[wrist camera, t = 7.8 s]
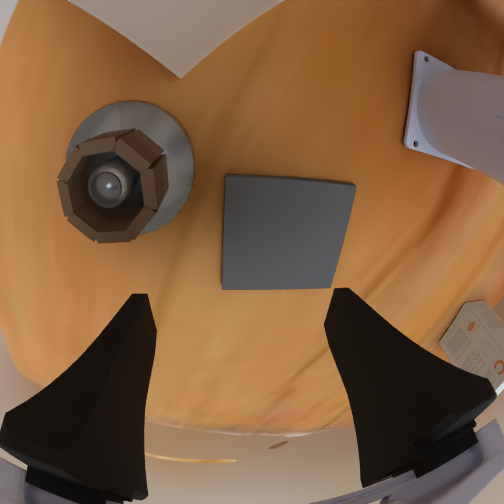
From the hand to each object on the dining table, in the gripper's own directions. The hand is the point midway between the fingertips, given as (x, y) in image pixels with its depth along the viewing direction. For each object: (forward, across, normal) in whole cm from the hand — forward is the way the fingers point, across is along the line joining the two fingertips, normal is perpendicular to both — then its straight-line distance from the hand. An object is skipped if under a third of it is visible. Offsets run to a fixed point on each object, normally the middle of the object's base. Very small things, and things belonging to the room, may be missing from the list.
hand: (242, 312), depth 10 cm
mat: (+10, -4, +2) cm, 11 cm away
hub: (+10, +7, -3) cm, 12 cm away
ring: (+9, +7, -3) cm, 12 cm away
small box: (+10, -34, +16) cm, 39 cm away
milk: (+10, +3, -17) cm, 20 cm away
